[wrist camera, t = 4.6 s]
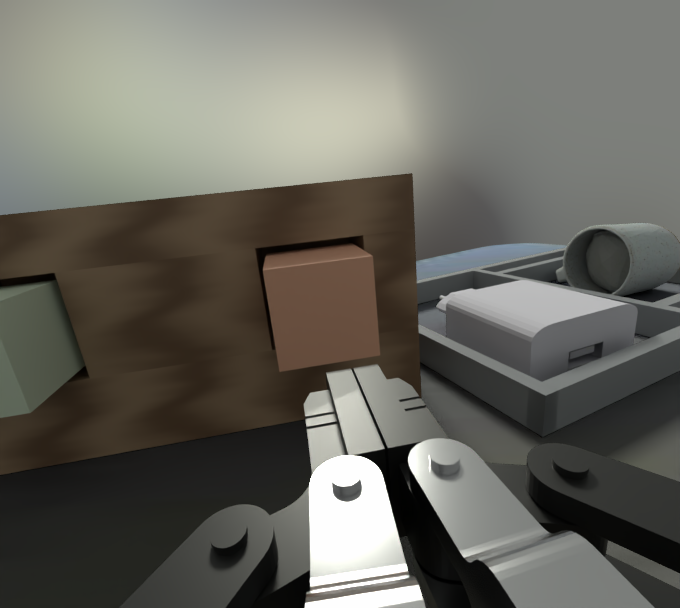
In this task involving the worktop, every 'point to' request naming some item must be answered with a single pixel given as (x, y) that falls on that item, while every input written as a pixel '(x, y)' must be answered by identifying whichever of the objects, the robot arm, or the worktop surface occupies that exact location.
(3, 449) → the panel
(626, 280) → the ceramic mug
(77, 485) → the worktop surface
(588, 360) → the charger
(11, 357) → the button sage
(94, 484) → the worktop surface
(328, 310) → the button terracotta
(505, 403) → the counter rail frame
